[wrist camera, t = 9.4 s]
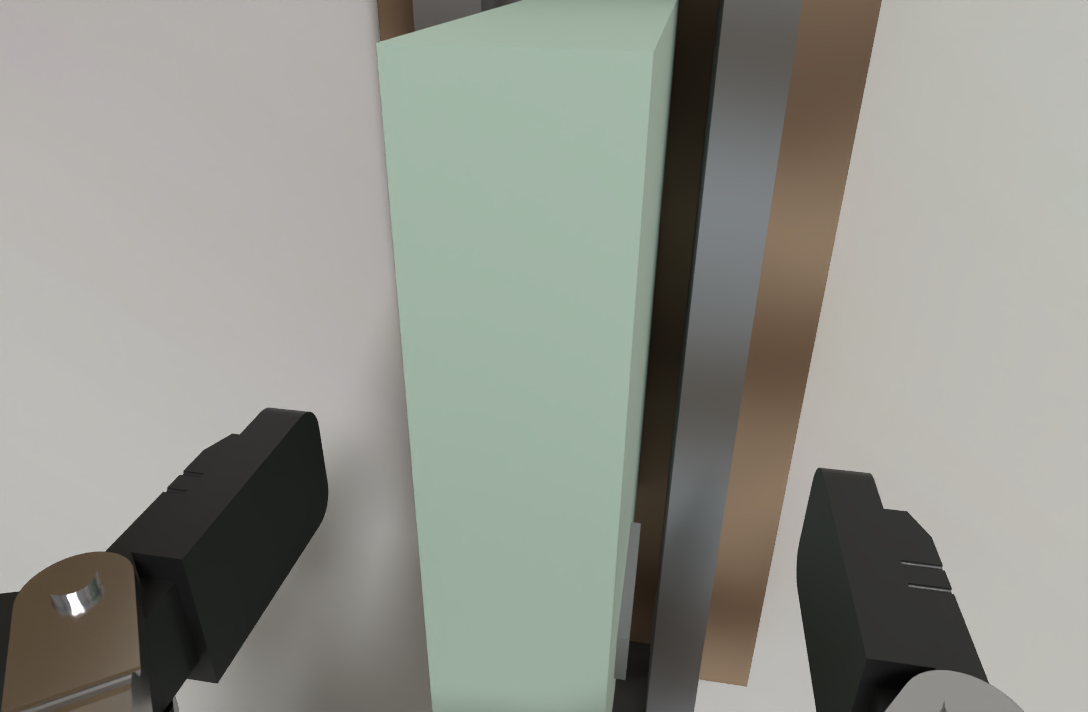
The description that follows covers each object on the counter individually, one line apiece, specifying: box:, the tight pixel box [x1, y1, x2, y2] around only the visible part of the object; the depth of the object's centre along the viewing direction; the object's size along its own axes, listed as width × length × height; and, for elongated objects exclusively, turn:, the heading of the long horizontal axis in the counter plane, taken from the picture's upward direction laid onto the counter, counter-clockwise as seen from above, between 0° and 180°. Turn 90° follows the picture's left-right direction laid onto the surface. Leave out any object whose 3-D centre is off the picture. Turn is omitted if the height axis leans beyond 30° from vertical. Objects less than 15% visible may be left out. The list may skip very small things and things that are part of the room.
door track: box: [377, 0, 882, 712], centre depth 18 cm, size 24×10×4 cm, turn 179°
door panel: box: [376, 0, 679, 712], centre depth 14 cm, size 12×3×10 cm, turn 179°
